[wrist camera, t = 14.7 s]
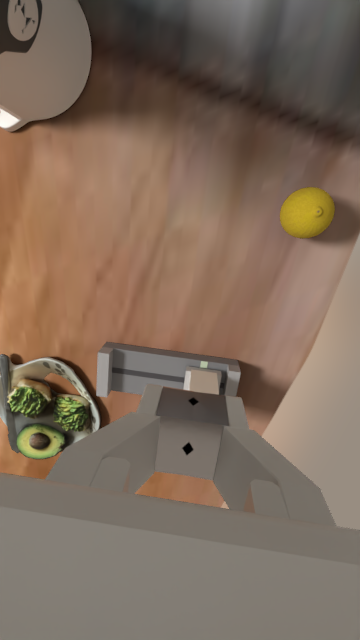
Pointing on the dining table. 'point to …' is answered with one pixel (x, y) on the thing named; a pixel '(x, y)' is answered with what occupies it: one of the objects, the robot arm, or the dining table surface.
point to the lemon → (307, 212)
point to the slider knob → (202, 380)
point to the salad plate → (44, 408)
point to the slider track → (156, 369)
